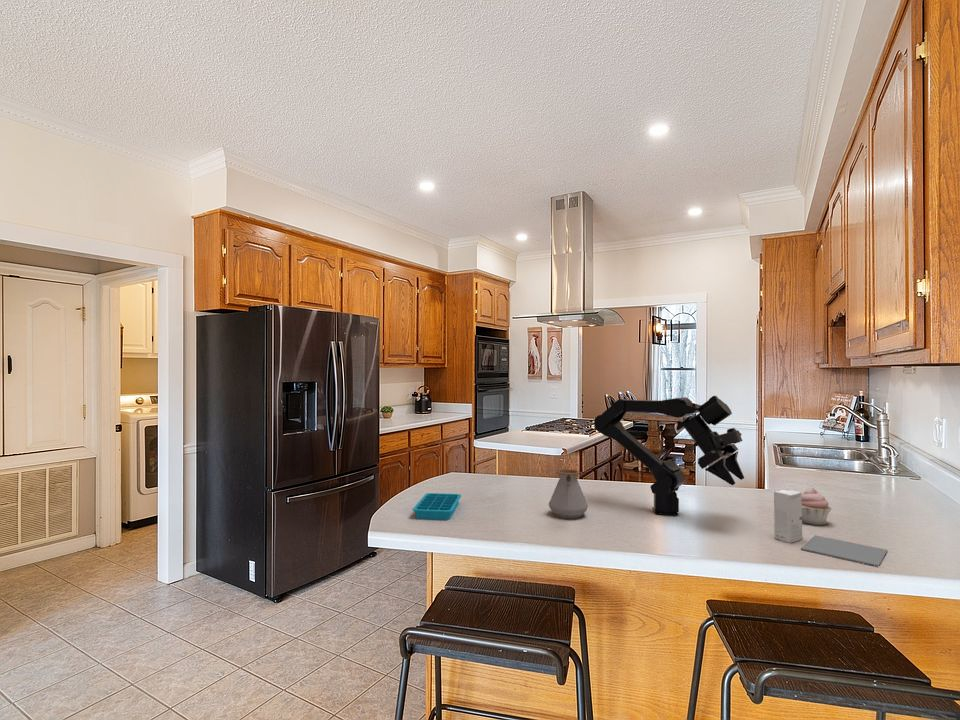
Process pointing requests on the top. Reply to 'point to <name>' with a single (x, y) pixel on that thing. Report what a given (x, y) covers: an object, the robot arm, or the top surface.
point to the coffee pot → (568, 496)
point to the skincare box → (787, 515)
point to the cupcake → (814, 507)
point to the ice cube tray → (436, 506)
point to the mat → (845, 550)
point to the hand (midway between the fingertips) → (738, 481)
